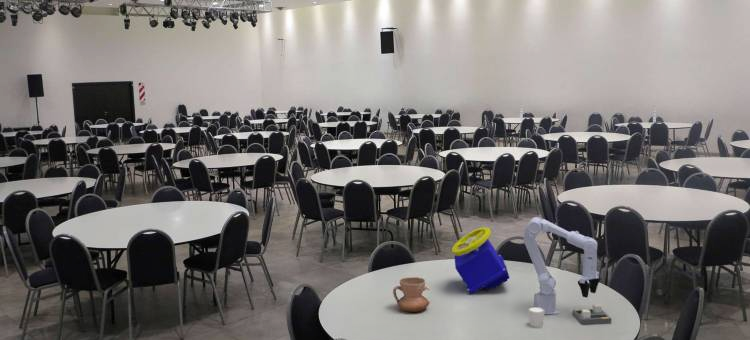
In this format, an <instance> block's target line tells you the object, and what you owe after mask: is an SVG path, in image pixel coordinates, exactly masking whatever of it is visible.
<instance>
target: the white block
mask: <svg viewBox="0 0 750 340" xmlns="http://www.w3.org/2000/svg"><path fill="white" fill-rule="evenodd" d="M592 309H593V310H592V313H601V310H602V305H601V304H600V303H592Z"/></svg>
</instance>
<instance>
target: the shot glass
mask: <svg viewBox="0 0 750 340" xmlns="http://www.w3.org/2000/svg"><path fill="white" fill-rule="evenodd" d="M544 317H545V314H544V309H543V308H539V307H534V306H532V307H529V308H528V318H529V319H528V320H529V326H531V327H532V328H542V327H543V326H544Z"/></svg>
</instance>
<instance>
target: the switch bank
mask: <svg viewBox="0 0 750 340" xmlns="http://www.w3.org/2000/svg"><path fill="white" fill-rule="evenodd" d="M582 310H583V309H572V314H571V315H572V316H573V318H575V320H577V321H578V322H579V324H580V325H583V326H584V325H585V326H586V325H607V324H609V325H610V324H612V317H611V316H609V315H608V314H607V313H606V312H605V311H604V310H602V309H601V313H592V310H593V308H590V309H589V308H587V309H586V310H589V311H591V318H586V319H583V318H582Z"/></svg>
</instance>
